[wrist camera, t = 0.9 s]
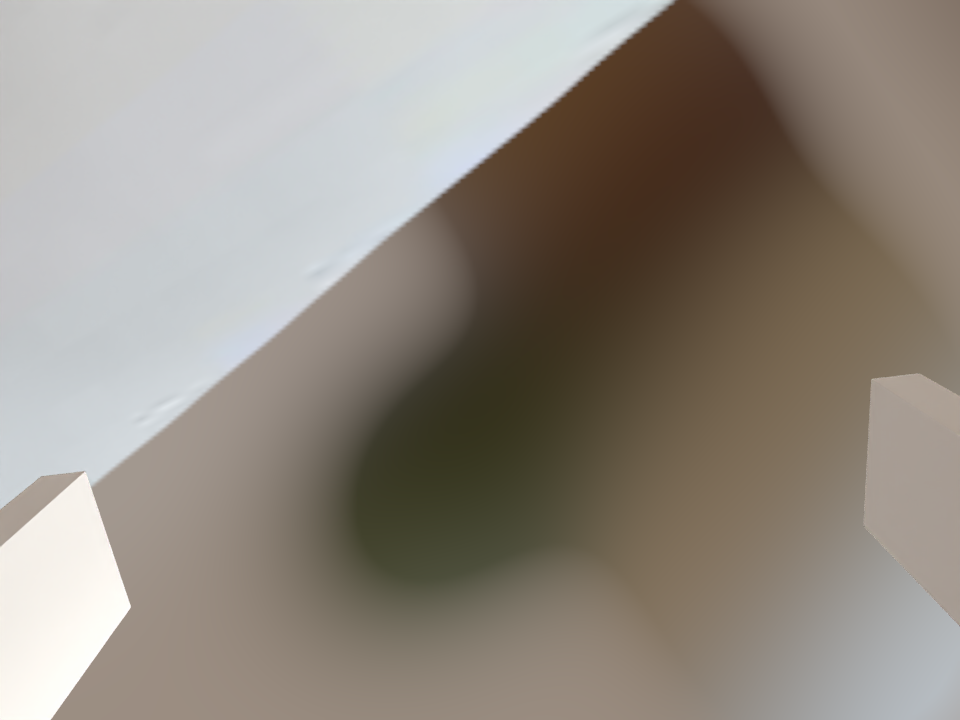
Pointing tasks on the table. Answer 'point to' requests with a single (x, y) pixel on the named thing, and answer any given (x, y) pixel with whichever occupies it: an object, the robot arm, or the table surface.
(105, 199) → the table surface
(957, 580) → the robot arm
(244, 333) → the table surface
